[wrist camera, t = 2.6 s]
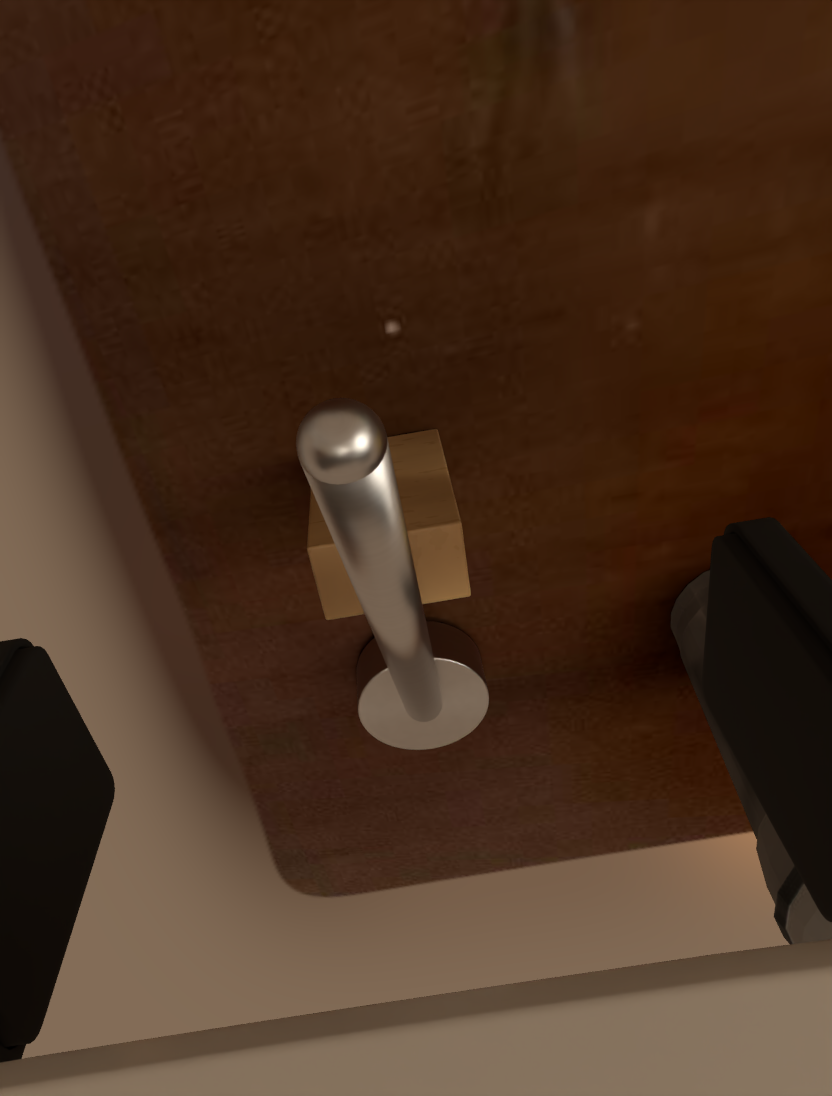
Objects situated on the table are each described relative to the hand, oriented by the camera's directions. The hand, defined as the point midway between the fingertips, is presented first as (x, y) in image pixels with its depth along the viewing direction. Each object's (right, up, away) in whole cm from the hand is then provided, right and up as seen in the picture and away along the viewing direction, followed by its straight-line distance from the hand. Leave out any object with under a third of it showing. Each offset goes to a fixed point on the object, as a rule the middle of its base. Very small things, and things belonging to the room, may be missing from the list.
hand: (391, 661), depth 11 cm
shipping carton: (-1, +4, +14) cm, 15 cm away
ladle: (-1, +3, +15) cm, 15 cm away
